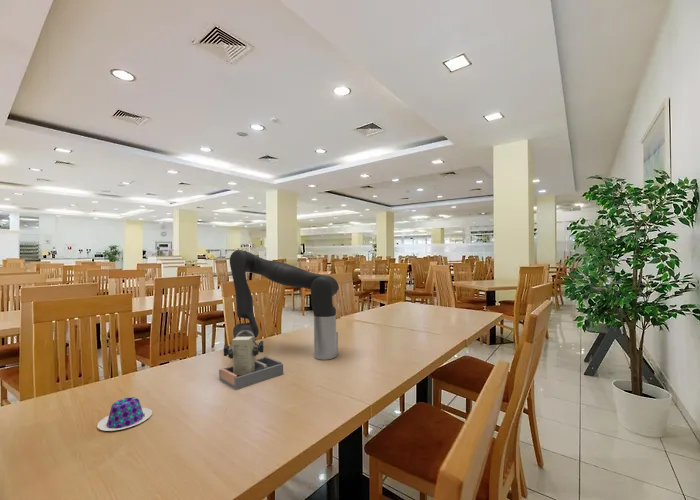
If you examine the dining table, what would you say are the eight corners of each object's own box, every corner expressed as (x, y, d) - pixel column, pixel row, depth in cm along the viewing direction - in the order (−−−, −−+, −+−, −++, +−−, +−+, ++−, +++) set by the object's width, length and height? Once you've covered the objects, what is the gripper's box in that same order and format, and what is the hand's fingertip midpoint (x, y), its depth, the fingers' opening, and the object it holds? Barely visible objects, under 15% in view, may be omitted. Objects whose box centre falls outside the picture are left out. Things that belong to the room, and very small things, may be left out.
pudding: (131, 407, 95) (130, 389, 95) (162, 413, 91) (162, 394, 91) (85, 429, 84) (85, 408, 84) (119, 437, 80) (119, 415, 80)
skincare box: (255, 370, 116) (254, 336, 116) (250, 375, 112) (249, 339, 111) (237, 370, 116) (237, 335, 116) (232, 375, 112) (231, 339, 112)
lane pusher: (253, 367, 122) (253, 358, 122) (266, 373, 115) (266, 364, 115) (250, 368, 121) (250, 359, 121) (263, 374, 114) (263, 365, 114)
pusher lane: (265, 366, 127) (264, 355, 127) (283, 373, 118) (283, 362, 118) (219, 379, 114) (219, 368, 114) (236, 389, 105) (235, 377, 105)
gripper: (224, 333, 126) (220, 345, 110) (263, 330, 130) (264, 341, 114) (225, 353, 126) (220, 368, 110) (264, 349, 130) (265, 363, 114)
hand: (243, 354), depth 112 cm, fingers closed on skincare box, 7 cm apart
